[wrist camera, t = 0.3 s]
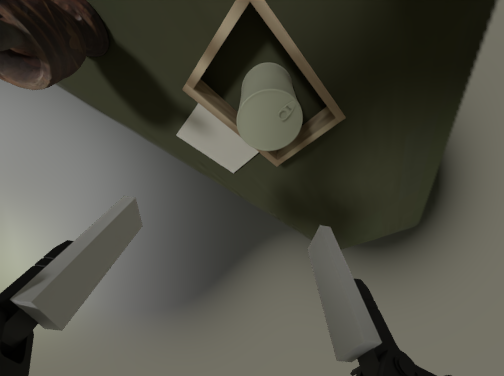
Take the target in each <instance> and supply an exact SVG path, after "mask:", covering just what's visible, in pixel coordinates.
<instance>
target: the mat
mask: <svg viewBox="0 0 504 376" xmlns="http://www.w3.org/2000/svg"><path fill="white" fill-rule="evenodd" d="M176 136H178V137H179V138H181V139H182V140H184V141H186V142H187V143H189V144H190V145H192V146H193V147H195V148H196V149H198V150H199V151H201V152H202V153H204V154H205V155H207V156H208V157H210V158H211V159H213V160H214V161H216V162H217V163H219V164H220V165H222V166H223V167H225V168H226V169H228V170H229V171H231V172H232V173H234V172H235V171H237V170H238V169H239V168H240V167H241V166H243V165H244V164H245V163H246V162H248V161H249V160H250V159H251V158H252V157H254V156H255V155H256V154H257V153H258V151H257V150H256V149H255V148H253V147H251V146H249V145H248V144H247V143H246V142H245V141H244V140H243V139H242V138H241V137H240V136H239V135H237V134H236V133H235V132H234V131H232V130H231V129H230V128H229V127H228V126H226V125H225V124H224V123H223V122H221V121H220V120H219V119H218V118H216V117H215V116H214V115H213V114H212V113H210V112H209V111H208V110H207V109H205V108H204V107H203V106H202V105H200V104H199V103H198V105H197V106H196V108H195V109H194V110H193V112H192V113H191V115H190V116H189V118H188V119H187V120H186V122H185V123H184V125H183V126H182V127H181V129H180V130H179V132H178V133H177V135H176Z"/></svg>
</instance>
